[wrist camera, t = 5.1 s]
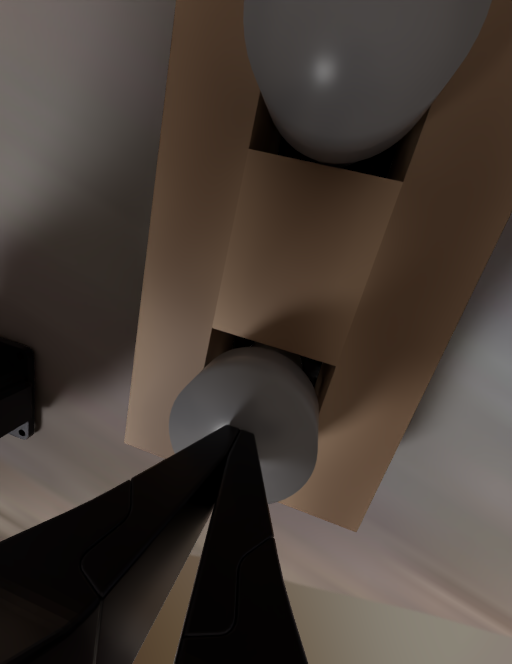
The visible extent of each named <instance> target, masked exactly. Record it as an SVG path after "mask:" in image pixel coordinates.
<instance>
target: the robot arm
mask: <svg viewBox="0 0 512 664" xmlns="http://www.w3.org/2000/svg"><path fill="white" fill-rule="evenodd" d="M6 434H11V435H13V436H15V437H18V438H20V439H24V440H25V439H28V438H29V437H31V436H32V435H33V434H34V353H33V351H32V350H31V349H30V348H29V347H27V346H25V345H22V344H19V343H16V342H13V341H10V340H7V339H5V338H2V337H0V438H1V437H3V436H4V435H6ZM213 507H214V508H213ZM212 510H213V512H212ZM211 512H212V516H211V519H210V523H209V527H208V531H207V535H206V539H205V543H204V547H203V551H202V555H201V558H200V562H199V566H198V570H197V574H196V578H195V582H194V586H193V590H192V594H191V597H190V601H189V605H188V609H187V613H186V617H185V621H184V625H183V629H182V632H181V636H180V640H179V644H178V648H177V652H176V656H175V660H174V664H308V662H307V658H306V655H305V651H304V648H303V645H302V642H301V639H300V635H299V632H298V629H297V626H296V623H295V619H294V616H293V613H292V609H291V606H290V602H289V599H288V595H287V592H286V588H285V585H284V581H283V576H282V572H281V567H280V563H279V558H278V554H277V548H276V543H275V539H274V538H273V537H274V534H273V528H272V523H271V518H270V513H269V507H268V502H267V497H266V492H265V486H264V481H263V476H262V471H261V466H260V460H259V455H258V450H257V445H256V439H255V435H254V434H253V433H251V432H248V431H245V430H241V431H240V429H239V428H237V427H234V426H231V425H225V426H223V427H221V428H219V429H218V430H216V431H214V432H212V433H211V434H209V435H207V436H205V437H204V438H202V439H200V440H198V441H196V442H195V443H193V444H191V445H189V446H188V447H186V448H184V449H182V450H181V451H179V452H177V453H175V454H174V455H172V456H170V457H168V458H166V459H165V460H163V461H161V462H159V463H158V464H156V465H154V466H152V467H151V468H149V469H147V470H145V471H143V472H142V473H140V474H138V475H136V476H135V477H133V478H132V479H131V480H127V481H126V482H124V483H122V484H120V485H118V486H117V487H115V488H113V489H111V490H109V491H107V492H106V493H104V494H102V495H100V496H98V497H96V498H94V499H92V500H90V501H88V502H86V503H84V504H82V505H80V506H78V507H76V508H73V509H71V510H69V511H67V512H65V513H63V514H61V515H58V516H56V517H54V518H52V519H50V520H47V521H45V522H43V523H41V524H38V525H36V526H34V527H32V528H30V529H27V530H25V531H23V532H21V533H19V534H16V535H14V536H12V537H10V538H7V539H5V540H3V541H1V542H0V664H132V663H133V661H134V659H135V657H136V655H137V653H138V651H139V650H140V648H141V646H142V644H143V642H144V640H145V638H146V636H147V634H148V632H149V630H150V629H151V626H152V625H153V623H154V621H155V619H156V617H157V615H158V613H159V611H160V610H161V608H162V606H163V604H164V602H165V600H166V598H167V596H168V594H169V592H170V590H171V589H172V587H173V585H174V583H175V581H176V579H177V577H178V575H179V573H180V571H181V569H182V568H183V566H184V564H185V562H186V560H187V558H188V556H189V554H190V552H191V550H192V548H193V547H194V545H195V543H196V541H197V539H198V537H199V535H200V533H201V531H202V529H203V527H204V526H205V524H206V522H207V520H208V518H209V516H210V514H211Z"/></svg>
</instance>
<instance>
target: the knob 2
mask: <svg viewBox="0 0 512 664" xmlns="http://www.w3.org/2000/svg"><path fill="white" fill-rule="evenodd" d="M491 2H492V0H244V14H243V24H244V37H245V43H246V49H247V54H248V58H249V61H250V64H251V68H252V71H253V73H254V76H255V78H256V81H257V84H258V86H259V89H260V91H261V94H262V96H263V99H264V101H265V104H266V106H267V109H268V111H269V114H270V116H271V118H272V120H273V123H274V125H275V126H276V128H277V129H278V131H279V133H280V134H281V135H282V137H283V138H284V139H285V140H286V141H287V142H288V143H289V144H290V145H291V146H292V147H293V148H294V149H296V150H297V151H299V152H300V153H302V154H303V155H305V156H307V157H309V158H311V159H314V160H316V161H318V162H319V163H321V164H323V165H326V166H331V167H336V168H340V167H345V166H349V165H351V164H354V163H356V162H357V161H361V160H364V159H368V158H370V157H372V156H375V155H377V154H379V153H381V152H383V151H384V150H386V149H388V148H390V147H391V146H392V145H394V144H395V143H396V142H398V141H399V140H400V139H402V138H403V137H404V136H405V135H406V134H407V133H408V132H409V131H410V130H411V129H412V128H413V127H414V126H415V125H416V124H417V122H418V121H419V120H420V119H421V118H422V116H423V115H424V114H425V112H426V111H427V110H428V108H429V107H430V105H431V104H432V103H433V101H434V100H435V99H436V97H437V96H438V95H439V93H440V92H441V91H442V89H443V88H444V87H445V85H446V84H447V83H448V81H449V80H450V79H451V77H452V76H453V75H454V73H455V72H456V70H457V69H458V68H459V66H460V65H461V63H462V62H463V60H464V59H465V58H466V56H467V55H468V53H469V51H470V49H471V47H472V46H473V44H474V42H475V40H476V39H477V37H478V35H479V33H480V30H481V28H482V26H483V23H484V21H485V19H486V17H487V14H488V11H489V8H490V5H491Z"/></svg>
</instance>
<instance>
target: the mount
mask: <svg viewBox="0 0 512 664" xmlns="http://www.w3.org/2000/svg"><path fill="white" fill-rule="evenodd" d="M243 14H244V0H176V7H175V15H174V24H173V32H172V41H171V49H170V58H169V66H168V75H167V83H166V92H165V100H164V109H163V117H162V126H161V134H160V143H159V151H158V160H157V168H156V177H155V185H154V194H153V202H152V211H151V219H150V228H149V236H148V245H147V253H146V262H145V270H144V279H143V287H142V296H141V304H140V312H139V321H138V329H137V338H136V346H135V355H134V363H133V372H132V380H131V389H130V397H129V406H128V414H127V423H126V431H125V440H124V443H125V444H128V445H131V446H133V447H136V448H138V449H141V450H144V451H146V452H149V453H151V454H154V455H157V456H159V457H162V458H164V459H166V458H168V457H170V456H172V455H174V454H175V453H174V450H173V448H172V444H171V441H170V435H169V417H170V413H171V409H172V406H173V404H174V401H175V400H176V398H177V397H178V395H179V394H180V392H181V391H182V390H183V389H184V388H185V387H186V386H187V385H188V384H189V383H190V382H191V381H192V380H193V379H194V378H195V377H196V376H197V375H198V374H199V373H200V372H201V371H202V370H203V369H204V368H205V367H206V366H207V365H208V364H209V363H210V362H211V361H212V360H213V359H215V358H216V357H217V356H219V355H221V354H222V353H224V352H227V351H229V350H232V348H233V343H234V339H235V335H237V336H240V337H243V338H246V339H250V340H253V341H256V342H259V343H263V344H266V345H269V346H272V347H275V348H279V349H282V350H285V351H288V352H292V353H295V354H298V355H301V356H305V357H308V358H311V359H314V360H317V361H321V362H323V363H322V366H321V369H320V372H319V375H318V377H317V380H316V383H315V386H314V389H315V392H316V395H317V399H318V404H319V425H318V454H317V461H316V464H315V468H314V470H313V472H312V475H311V477H310V478H309V479H308V481H307V482H306V484H305V485H304V486H303V487H302V488H301V489H300V490H299V491H297V492H296V493H295V494H293V495H292V496H290V497H288V498H286V499H284V500H281V501H279V503H282V504H284V505H287V506H289V507H292V508H295V509H297V510H300V511H302V512H305V513H308V514H310V515H313V516H315V517H318V518H321V519H323V520H326V521H328V522H331V523H334V524H336V525H339V526H341V527H344V528H347V529H349V530H352V531H354V532H357V530H358V528H359V526H360V524H361V522H362V520H363V518H364V516H365V514H366V511H367V509H368V507H369V505H370V503H371V501H372V499H373V497H374V495H375V493H376V491H377V489H378V487H379V485H380V483H381V481H382V478H383V476H384V474H385V472H386V470H387V468H388V466H389V464H390V462H391V460H392V458H393V456H394V454H395V452H396V450H397V448H398V445H399V443H400V441H401V439H402V437H403V435H404V433H405V431H406V429H407V427H408V425H409V423H410V421H411V419H412V417H413V415H414V412H415V410H416V408H417V406H418V404H419V402H420V400H421V398H422V396H423V394H424V392H425V390H426V388H427V386H428V384H429V382H430V379H431V377H432V375H433V373H434V371H435V369H436V367H437V365H438V363H439V361H440V359H441V357H442V355H443V353H444V351H445V349H446V347H447V344H448V342H449V340H450V338H451V336H452V334H453V332H454V330H455V328H456V326H457V324H458V322H459V320H460V318H461V316H462V314H463V311H464V309H465V307H466V305H467V303H468V301H469V299H470V297H471V295H472V293H473V291H474V289H475V287H476V285H477V283H478V281H479V278H480V276H481V274H482V272H483V270H484V268H485V266H486V264H487V262H488V260H489V258H490V256H491V254H492V252H493V250H494V248H495V245H496V243H497V241H498V239H499V237H500V235H501V233H502V231H503V229H504V227H505V225H506V223H507V221H508V219H509V217H510V215H511V212H512V0H492V2H491V5H490V8H489V11H488V14H487V17H486V19H485V21H484V23H483V26H482V28H481V30H480V33H479V35H478V37H477V39H476V40H475V42H474V44H473V46H472V47H471V49H470V51H469V53H468V55H467V56H466V58H465V59H464V60H463V62H462V63H461V65H460V66H459V68H458V69H457V70H456V72H455V73H454V75H453V76H452V77H451V79H450V80H449V81H448V83H447V84H446V85H445V87H444V88H443V89H442V91H441V92H440V93H439V95H438V96H437V97H436V99H435V100H434V101H433V103H432V104H431V105H430V107H429V108H428V110H427V111H426V112H425V114H424V115H423V116H422V118H421V119H420V120H419V121H418V122H417V124H416V125H415V126H414V127H413V128H412V129H411V130H410V131H409V132H408V133H407V134H406V135H405V136H404V137H403V138H402V139H400V140H399V143H398V146H397V149H396V152H395V154H394V157H393V160H392V163H391V166H390V169H389V172H388V175H387V178H382V177H377V176H373V175H368V174H363V173H359V172H354V171H350V170H345V169H340V168H336V167H331V166H326V165H322V164H317V163H312V162H308V161H303V160H298V159H294V158H289V157H285V156H280V155H277V154H278V150H279V146H280V141H281V137H282V135H281V134H280V133H279V131H278V129H277V128H276V126H275V125H274V123H273V120H272V118H271V116H270V114H269V111H268V109H267V106H266V104H265V101H264V99H263V96H262V94H261V91H260V89H259V86H258V84H257V81H256V78H255V76H254V73H253V71H252V68H251V64H250V61H249V58H248V54H247V49H246V43H245V37H244V24H243Z"/></svg>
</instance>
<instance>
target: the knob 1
mask: <svg viewBox="0 0 512 664" xmlns="http://www.w3.org/2000/svg"><path fill="white" fill-rule="evenodd" d="M225 425H231V426H234V427H237V428H239V429H240V431H241V430H245V431H248V432H251V433H253V434H254V435H255V439H256V445H257V450H258V455H259V460H260V466H261V471H262V476H263V481H264V486H265V492H266V497H267V502H268V504H271V503H275V502H279V501H281V500H284V499H286V498H288V497H290V496H292V495H293V494H295V493H296V492H297V491H299V490H300V489H301V488H302V487H303V486H304V485H305V484H306V482H307V481H308V479H309V478H310V477H311V475H312V472H313V470H314V468H315V464H316V461H317V454H318V425H319V404H318V399H317V395H316V392H315V389H314V387H313V385H312V383H311V381H310V380H309V378H308V377H307V375H306V374H305V373H304V372H303V371H302V361H301V358H300V355H298V354H295V353H292V352H288V351H285V350H282V349H279V348H275V347H272V346H269V345H266V344H263V343H259V342H255V343H253V344H252V345H251V346H250V347H242V348H236V349H232V350H229V351H227V352H224V353H222V354H221V355H219V356H217V357H216V358H215V359H213V360H212V361H211V362H210V363H209V364H208V365H207V366H206V367H205V368H204V369H203V370H202V371H201V372H200V373H199V374H198V375H197V376H196V377H195V378H194V379H193V380H192V381H191V382H190V383H189V384H188V385H187V386H186V387H185V388H184V389H183V390H182V391H181V392H180V394H179V395H178V397H177V398H176V400H175V401H174V404H173V406H172V409H171V413H170V417H169V435H170V441H171V444H172V448H173V450H174V453H177V452H179V451H181V450H182V449H184V448H186V447H188V446H189V445H191V444H193V443H195V442H196V441H198V440H200V439H202V438H204V437H205V436H207V435H209V434H211V433H212V432H214V431H216V430H218V429H219V428H221V427H223V426H225Z"/></svg>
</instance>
